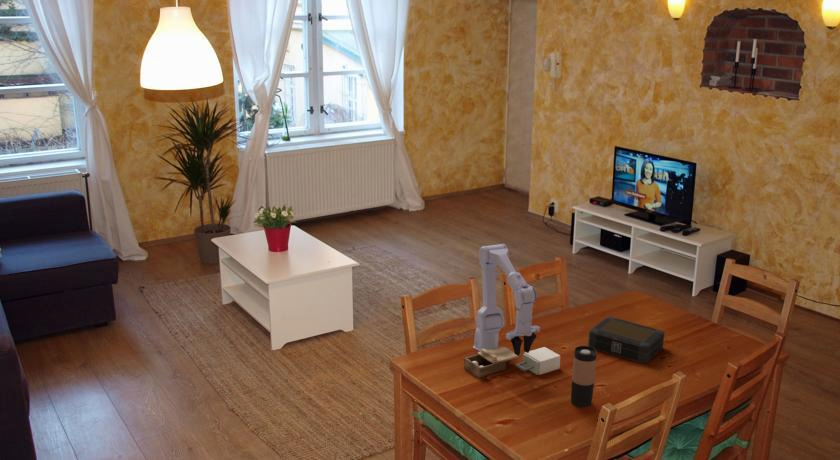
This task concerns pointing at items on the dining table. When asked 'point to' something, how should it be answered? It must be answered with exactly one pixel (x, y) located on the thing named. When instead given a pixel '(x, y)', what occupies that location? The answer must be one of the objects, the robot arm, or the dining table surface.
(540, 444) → the dining table surface
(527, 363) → the drawer
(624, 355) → the cash box
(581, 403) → the travel mug
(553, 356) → the white cabinet
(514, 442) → the dining table surface
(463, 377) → the dining table surface
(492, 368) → the walnut box
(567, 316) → the dining table surface
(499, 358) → the box lid
